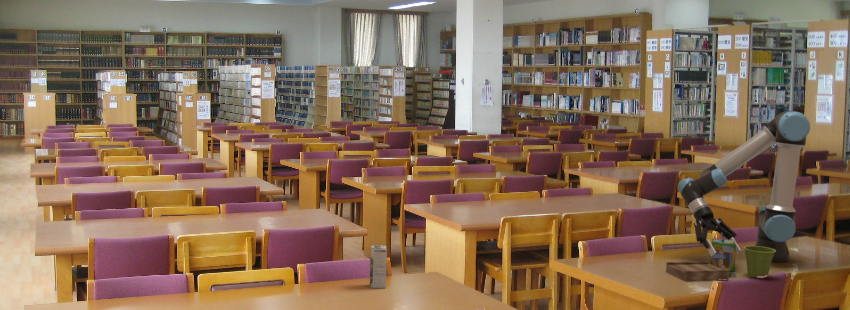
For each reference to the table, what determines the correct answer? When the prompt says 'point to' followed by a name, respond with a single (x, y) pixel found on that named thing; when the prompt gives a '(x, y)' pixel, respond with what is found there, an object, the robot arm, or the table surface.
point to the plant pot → (758, 260)
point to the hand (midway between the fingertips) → (726, 253)
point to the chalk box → (724, 254)
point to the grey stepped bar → (732, 274)
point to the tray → (696, 271)
